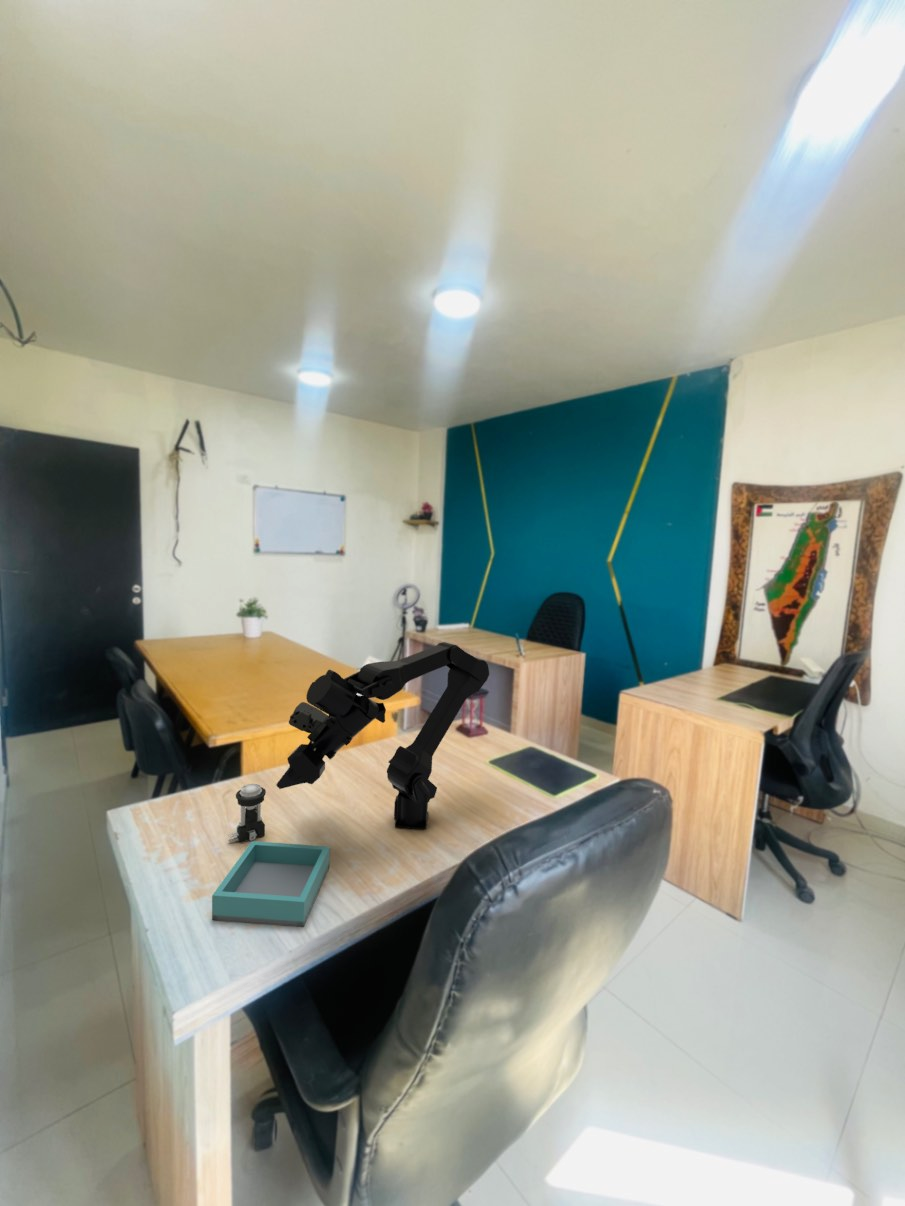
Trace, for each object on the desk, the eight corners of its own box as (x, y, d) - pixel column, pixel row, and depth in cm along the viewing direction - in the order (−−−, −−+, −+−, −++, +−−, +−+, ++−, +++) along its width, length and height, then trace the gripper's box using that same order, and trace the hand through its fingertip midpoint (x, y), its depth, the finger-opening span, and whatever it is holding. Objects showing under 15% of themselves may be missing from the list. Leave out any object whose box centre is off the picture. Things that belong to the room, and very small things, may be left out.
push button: (232, 850, 92) (232, 799, 91) (224, 836, 96) (225, 787, 95) (268, 839, 96) (269, 790, 95) (260, 826, 101) (260, 779, 99)
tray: (329, 867, 89) (329, 846, 89) (303, 926, 75) (304, 902, 75) (251, 862, 89) (252, 841, 89) (212, 919, 76) (212, 895, 75)
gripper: (330, 678, 102) (276, 726, 104) (300, 707, 84) (235, 765, 85) (367, 718, 103) (313, 765, 104) (345, 755, 84) (280, 812, 86)
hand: (287, 775), depth 95 cm, fingers open, 9 cm apart
